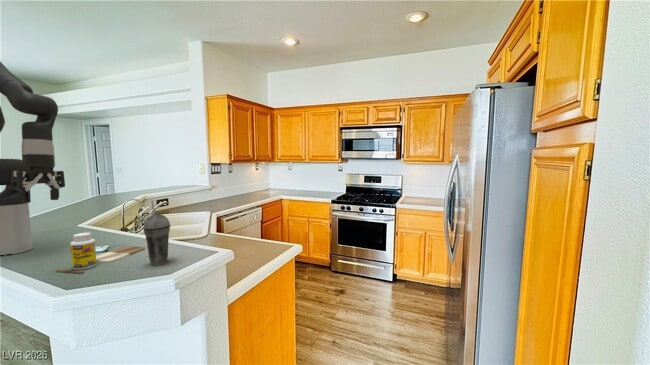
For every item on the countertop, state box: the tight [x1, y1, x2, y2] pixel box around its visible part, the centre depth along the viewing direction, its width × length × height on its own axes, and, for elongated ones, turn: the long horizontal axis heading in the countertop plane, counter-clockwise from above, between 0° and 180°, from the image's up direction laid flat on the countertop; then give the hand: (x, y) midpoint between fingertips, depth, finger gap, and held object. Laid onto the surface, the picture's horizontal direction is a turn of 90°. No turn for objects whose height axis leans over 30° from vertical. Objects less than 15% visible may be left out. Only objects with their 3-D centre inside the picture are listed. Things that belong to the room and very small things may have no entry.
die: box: [144, 243, 149, 257], centre depth 92 cm, size 4×4×4 cm
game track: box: [55, 245, 145, 275], centre depth 88 cm, size 9×22×1 cm, turn 170°
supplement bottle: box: [69, 232, 97, 271], centre depth 81 cm, size 6×6×10 cm
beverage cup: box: [142, 200, 171, 267], centre depth 83 cm, size 7×7×20 cm
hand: (41, 201), depth 91 cm, fingers open, 8 cm apart
